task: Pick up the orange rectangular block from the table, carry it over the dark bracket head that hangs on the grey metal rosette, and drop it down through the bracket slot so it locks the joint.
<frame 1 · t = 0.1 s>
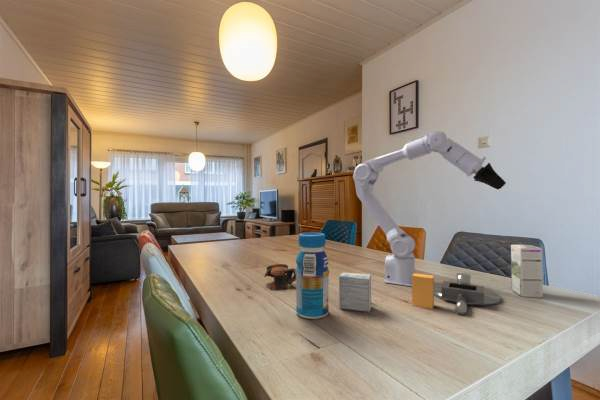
hand: (502, 186, 83), 32 cm above the table, tool tilted 50°, fingers open, 7 cm apart
orange rectangular block: (423, 305, 77), on the table
medicine box: (355, 308, 76), on the table
beverage bottle: (312, 314, 72), on the table
syrup box: (526, 295, 86), on the table
pottery mug: (281, 286, 96), on the table
rosette joint: (463, 294, 86), on the table
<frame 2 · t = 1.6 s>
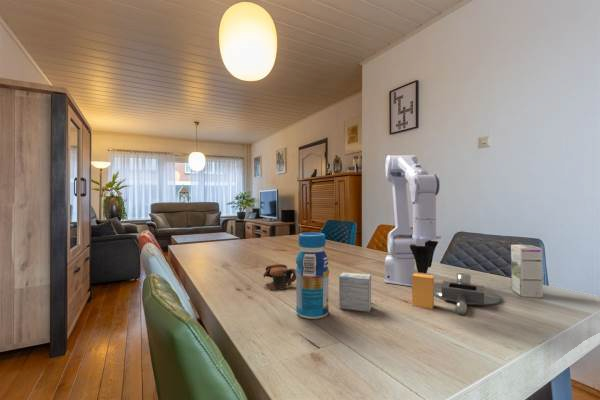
hand: (424, 269, 77), 10 cm above the table, tool pointing down, fingers open, 7 cm apart
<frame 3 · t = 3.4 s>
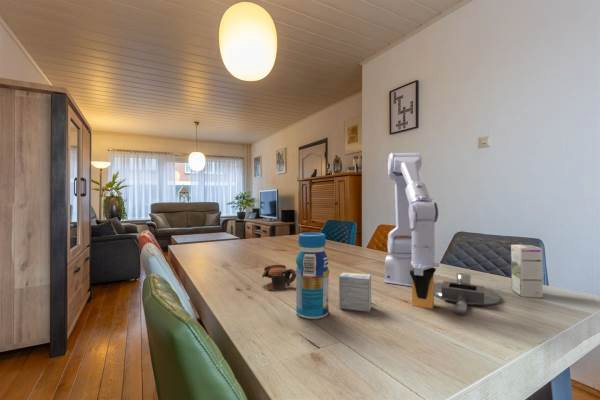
hand: (423, 296, 77), 2 cm above the table, tool pointing down, fingers closed on orange rectangular block, 3 cm apart
orange rectangular block: (423, 305, 77), on the table, touching gripper
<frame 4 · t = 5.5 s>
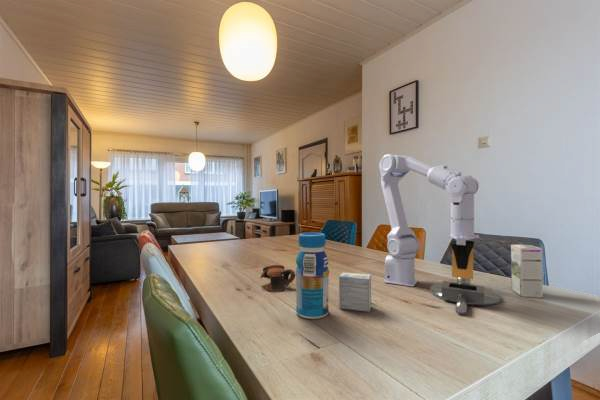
hand: (462, 267, 80), 9 cm above the table, tool pointing down, fingers closed on orange rectangular block, 3 cm apart
orange rectangular block: (462, 276, 80), point 7 cm above the table, touching gripper
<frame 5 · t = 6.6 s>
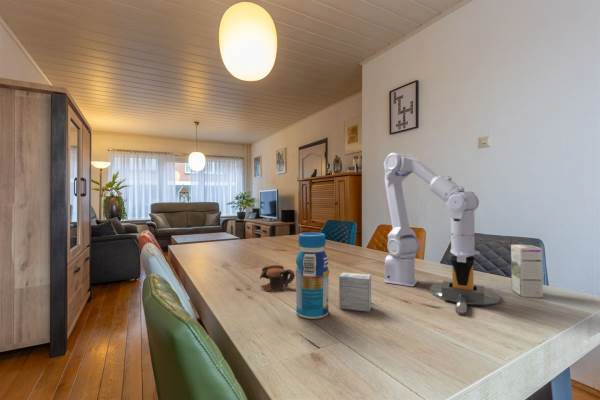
hand: (462, 283, 80), 5 cm above the table, tool pointing down, fingers closed on orange rectangular block, 3 cm apart
orange rectangular block: (463, 292, 80), point 2 cm above the table, touching gripper
when the fingers open (5 cm above the table, at t = 7.3 s): orange rectangular block drops 1 cm, resting on rosette joint.
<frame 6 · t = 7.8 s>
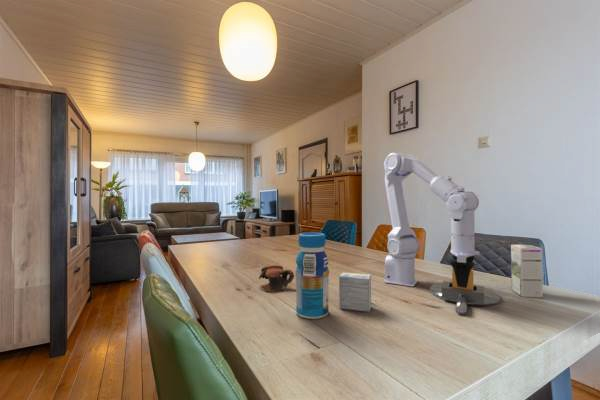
hand: (462, 283, 80), 5 cm above the table, tool pointing down, fingers open, 7 cm apart
orange rectangular block: (462, 297, 80), point 1 cm above the table, touching rosette joint
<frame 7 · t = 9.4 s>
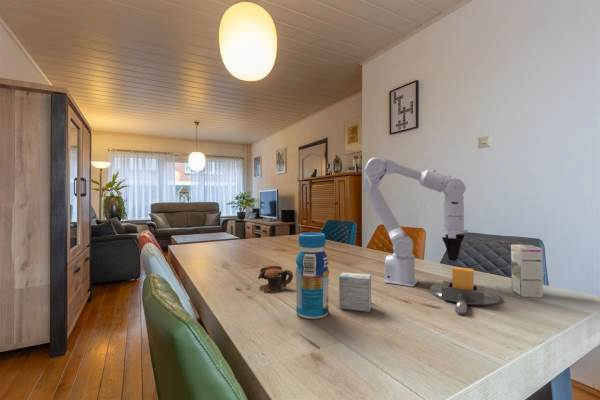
hand: (453, 258, 93), 9 cm above the table, tool pointing down, fingers open, 7 cm apart
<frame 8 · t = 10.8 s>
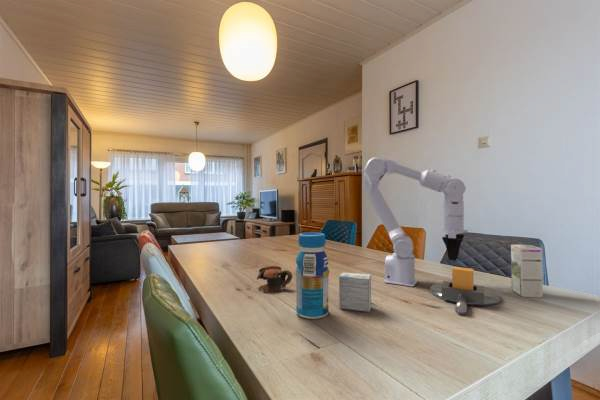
hand: (453, 257, 93), 9 cm above the table, tool pointing down, fingers open, 7 cm apart
at the end: orange rectangular block 0.1 cm from the target spot on the rosette joint, point 1.0 cm above the rosette joint's base; orange rectangular block tilted 0°; the gripper is holding nothing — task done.
